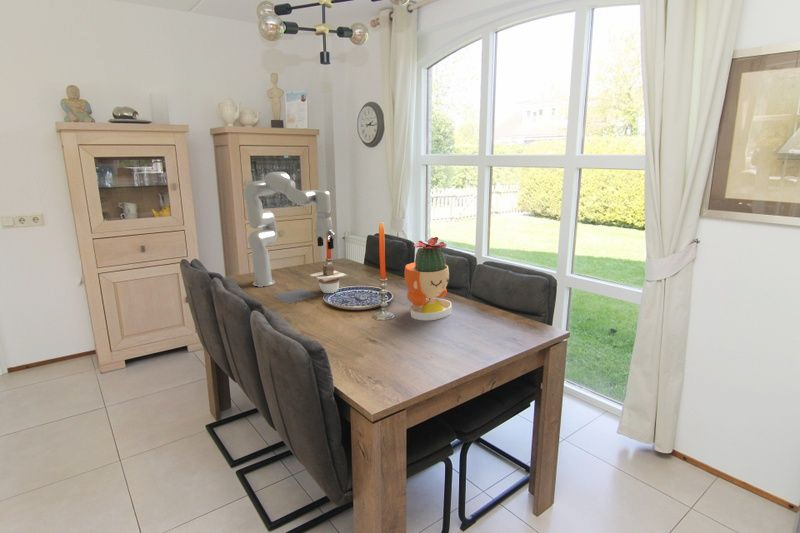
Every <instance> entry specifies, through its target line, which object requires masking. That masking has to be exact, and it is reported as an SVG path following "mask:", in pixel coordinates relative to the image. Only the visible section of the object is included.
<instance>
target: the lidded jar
mask: <svg viewBox="0 0 800 533" xmlns="http://www.w3.org/2000/svg"><path fill="white" fill-rule="evenodd" d="M318 285H319V288H320V289H319V290H320V291H321V292H322V293H323V294H325V293H333V294H335V293H336V292H337V291H338V290H339V287H340V278H339V279H334V280H330V281H325V282H324V281H321V280H318ZM334 292H335V293H334Z"/></svg>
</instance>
